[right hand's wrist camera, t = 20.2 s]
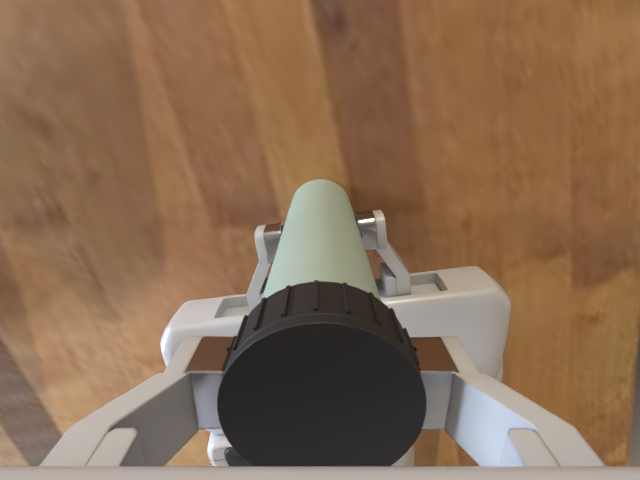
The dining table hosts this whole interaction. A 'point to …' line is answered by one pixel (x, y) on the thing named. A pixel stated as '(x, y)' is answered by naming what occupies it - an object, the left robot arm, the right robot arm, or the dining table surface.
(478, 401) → the right robot arm
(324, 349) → the lid
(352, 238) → the pale green cylinder
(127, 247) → the dining table surface
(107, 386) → the dining table surface
